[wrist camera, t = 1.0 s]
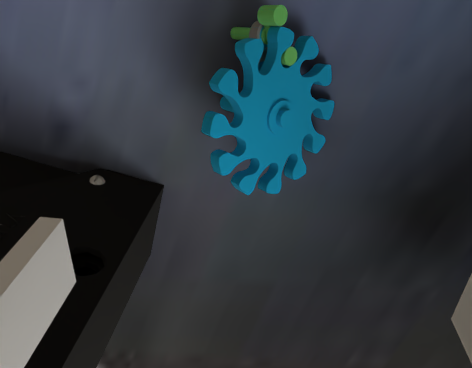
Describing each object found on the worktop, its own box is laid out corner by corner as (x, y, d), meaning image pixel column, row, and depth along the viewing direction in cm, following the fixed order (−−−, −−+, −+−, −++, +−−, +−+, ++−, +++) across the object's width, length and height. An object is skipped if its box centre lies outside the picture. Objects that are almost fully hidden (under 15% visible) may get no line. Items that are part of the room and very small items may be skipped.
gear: (331, 182, 28) (215, 218, 22) (273, 159, 33) (162, 184, 27) (354, 10, 24) (220, -2, 18) (284, 10, 28) (157, 1, 23)
